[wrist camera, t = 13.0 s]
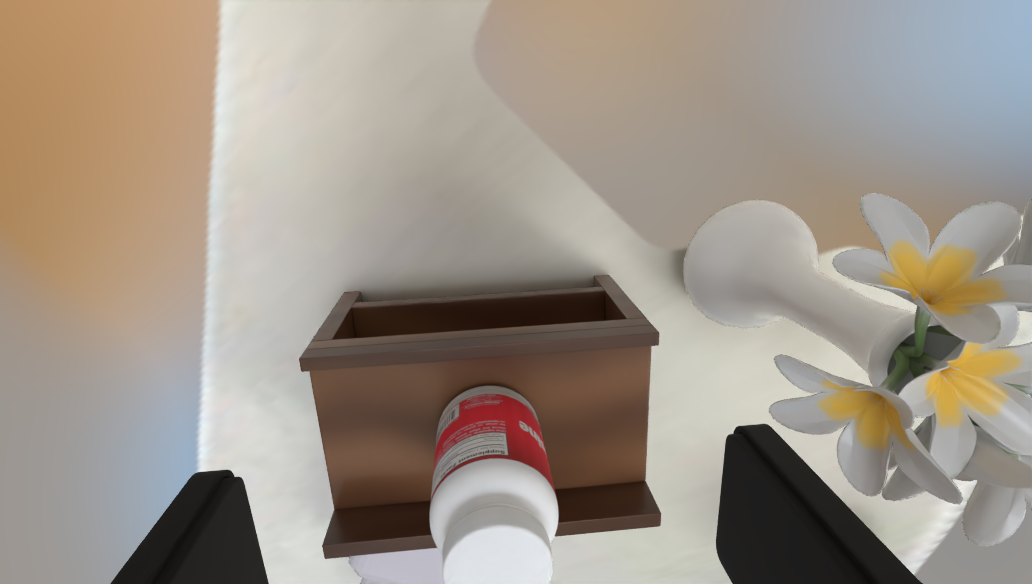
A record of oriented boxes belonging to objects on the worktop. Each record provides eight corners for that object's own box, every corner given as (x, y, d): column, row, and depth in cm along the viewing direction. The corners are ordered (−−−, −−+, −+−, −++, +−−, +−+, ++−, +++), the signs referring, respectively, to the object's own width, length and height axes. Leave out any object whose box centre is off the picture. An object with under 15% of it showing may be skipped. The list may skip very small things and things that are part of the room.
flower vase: (764, 375, 45) (1088, 662, 22) (593, 259, 41) (767, 462, 17) (874, 250, 43) (1382, 422, 19) (703, 109, 38) (1091, 107, 14)
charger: (337, 579, 48) (389, 442, 44) (435, 601, 50) (494, 472, 46) (323, 627, 44) (380, 480, 40) (432, 650, 46) (496, 511, 42)
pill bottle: (545, 459, 34) (579, 613, 24) (448, 477, 34) (440, 640, 23) (530, 372, 32) (561, 498, 22) (428, 391, 32) (409, 527, 21)
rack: (343, 292, 40) (288, 374, 28) (609, 275, 41) (671, 345, 29) (365, 431, 44) (324, 559, 31) (607, 411, 45) (660, 526, 33)
